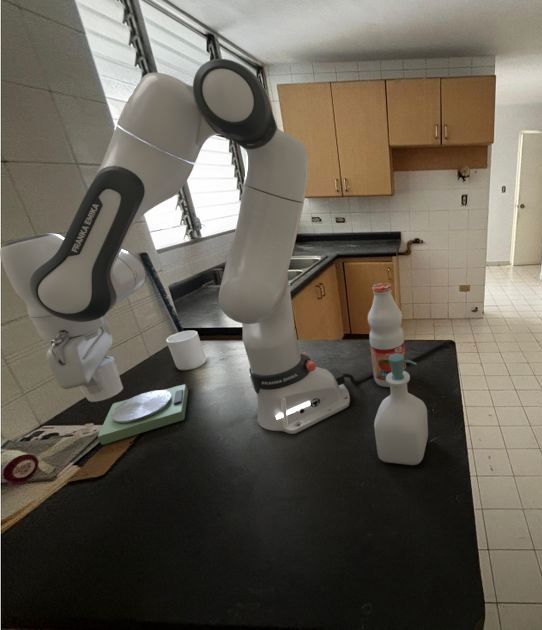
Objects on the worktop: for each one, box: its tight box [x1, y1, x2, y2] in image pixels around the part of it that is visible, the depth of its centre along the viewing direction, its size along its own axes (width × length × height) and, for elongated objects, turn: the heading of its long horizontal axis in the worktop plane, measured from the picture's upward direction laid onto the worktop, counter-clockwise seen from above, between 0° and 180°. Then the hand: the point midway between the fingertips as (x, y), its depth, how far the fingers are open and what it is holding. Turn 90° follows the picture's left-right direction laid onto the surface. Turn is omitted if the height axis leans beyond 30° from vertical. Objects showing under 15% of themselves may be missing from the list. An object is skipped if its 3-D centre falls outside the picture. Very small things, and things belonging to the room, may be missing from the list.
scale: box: [97, 383, 189, 446], centre depth 85 cm, size 16×14×3 cm
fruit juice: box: [367, 282, 408, 388], centre depth 90 cm, size 9×9×28 cm
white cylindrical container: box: [77, 355, 124, 403], centre depth 68 cm, size 7×7×7 cm
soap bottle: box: [373, 354, 429, 466], centre depth 66 cm, size 10×10×23 cm
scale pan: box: [111, 389, 172, 423], centre depth 84 cm, size 12×12×1 cm
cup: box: [165, 330, 207, 371], centre depth 107 cm, size 8×12×10 cm
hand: (101, 383), depth 69 cm, fingers closed on white cylindrical container, 5 cm apart
